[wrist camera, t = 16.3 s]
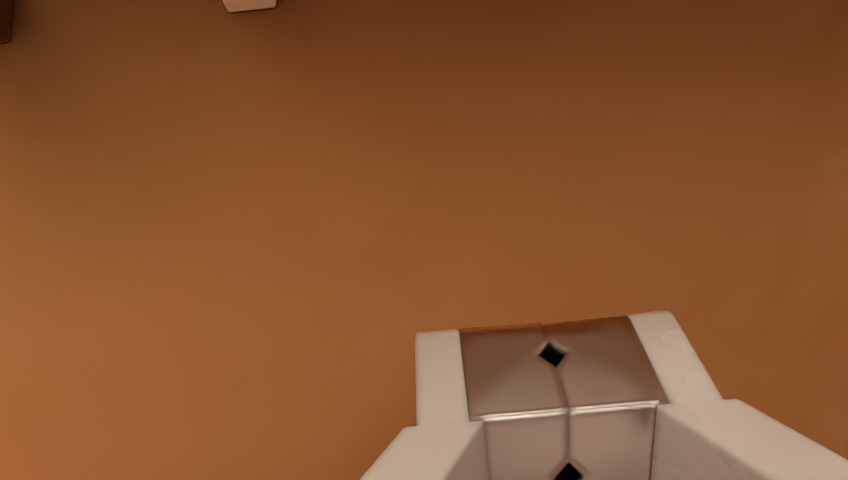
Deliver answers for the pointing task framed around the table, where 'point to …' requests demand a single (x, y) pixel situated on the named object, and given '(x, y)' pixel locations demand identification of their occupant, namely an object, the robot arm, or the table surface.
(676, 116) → the table surface
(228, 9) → the chair
